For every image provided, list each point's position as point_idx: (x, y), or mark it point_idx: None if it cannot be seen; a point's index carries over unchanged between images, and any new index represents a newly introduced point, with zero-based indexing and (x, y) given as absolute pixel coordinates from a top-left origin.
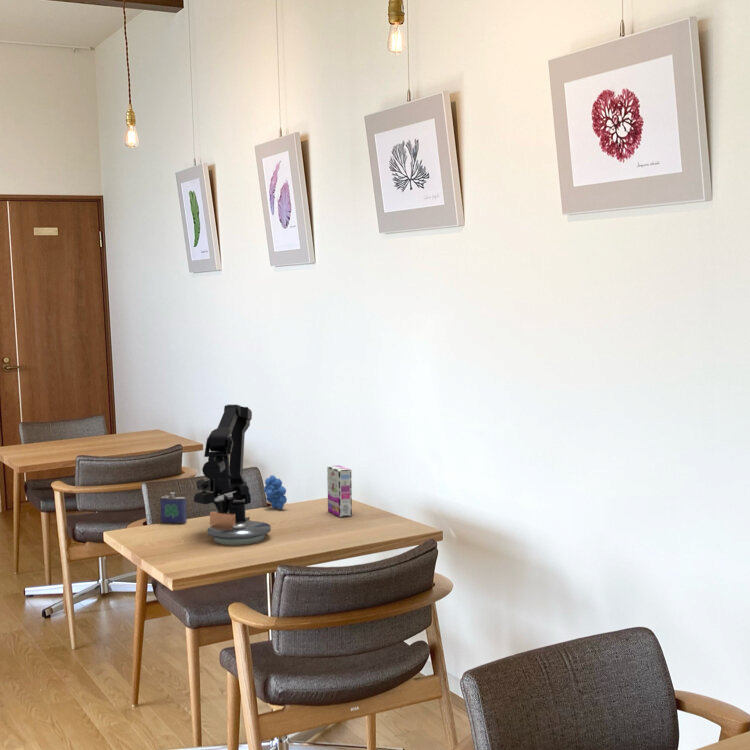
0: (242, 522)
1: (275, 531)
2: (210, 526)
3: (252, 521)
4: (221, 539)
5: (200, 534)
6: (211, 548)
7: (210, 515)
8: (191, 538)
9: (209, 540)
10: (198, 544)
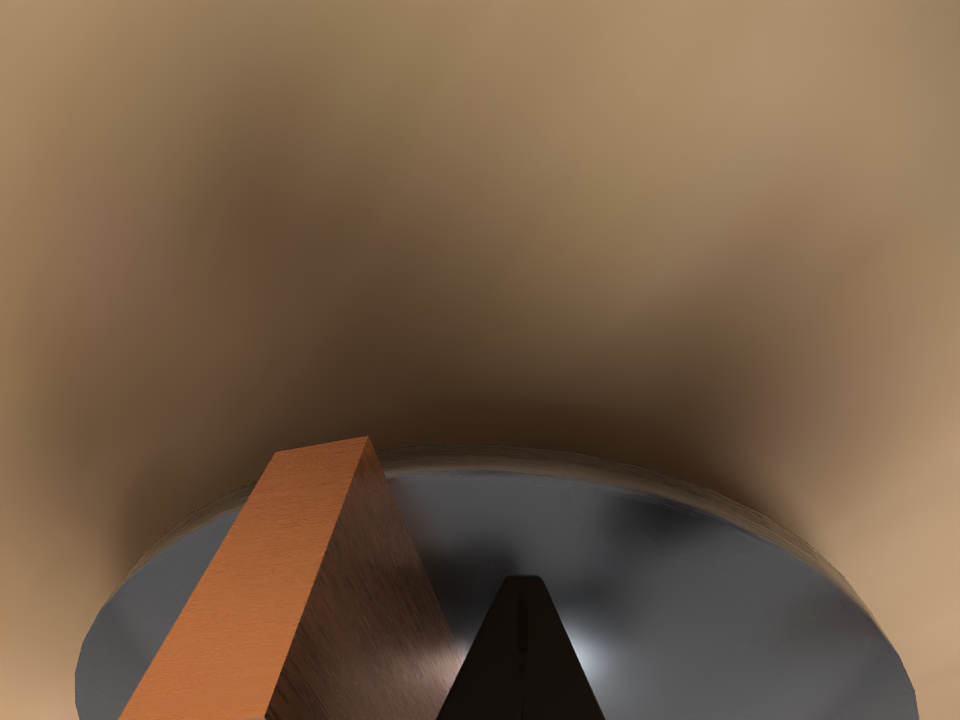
0: (757, 672)
1: None
2: (226, 524)
3: (885, 718)
4: None
5: (229, 190)
6: None
7: (176, 643)
8: (15, 289)
9: None
10: (25, 551)
